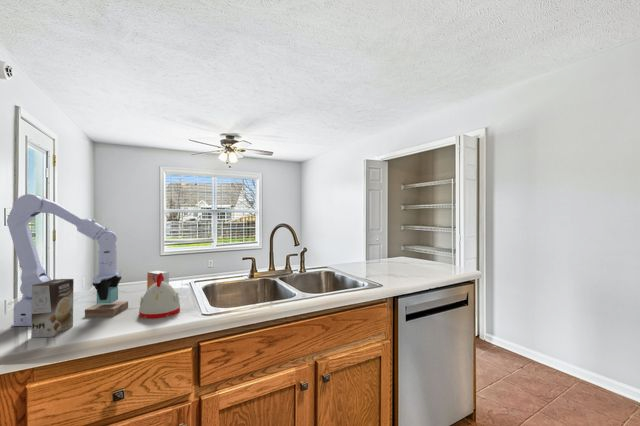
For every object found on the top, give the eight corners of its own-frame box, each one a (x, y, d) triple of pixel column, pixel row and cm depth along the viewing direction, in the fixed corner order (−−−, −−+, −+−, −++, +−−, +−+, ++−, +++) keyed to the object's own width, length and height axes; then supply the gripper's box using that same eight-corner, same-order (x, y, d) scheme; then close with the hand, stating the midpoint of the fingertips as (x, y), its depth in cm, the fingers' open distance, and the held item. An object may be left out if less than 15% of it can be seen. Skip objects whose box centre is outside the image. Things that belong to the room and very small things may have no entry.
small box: (146, 294, 143) (146, 272, 143) (158, 292, 148) (158, 270, 148) (157, 297, 139) (158, 273, 139) (169, 294, 144) (169, 271, 144)
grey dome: (134, 320, 110) (134, 278, 110) (144, 308, 124) (145, 270, 123) (176, 316, 114) (176, 276, 114) (182, 305, 127) (182, 269, 127)
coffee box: (53, 337, 95) (53, 285, 95) (30, 338, 94) (30, 285, 94) (73, 326, 104) (74, 278, 104) (53, 326, 103) (53, 278, 103)
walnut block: (113, 317, 114) (113, 309, 114) (84, 317, 113) (84, 309, 113) (128, 308, 124) (128, 301, 124) (101, 309, 123) (101, 301, 123)
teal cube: (110, 303, 116) (110, 290, 116) (96, 303, 116) (96, 290, 116) (118, 299, 121) (118, 286, 121) (104, 299, 121) (104, 287, 121)
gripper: (107, 265, 112) (107, 303, 112) (128, 259, 126) (128, 292, 126) (86, 265, 111) (86, 303, 111) (109, 259, 125) (109, 292, 125)
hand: (107, 297), depth 119 cm, fingers closed on teal cube, 5 cm apart
